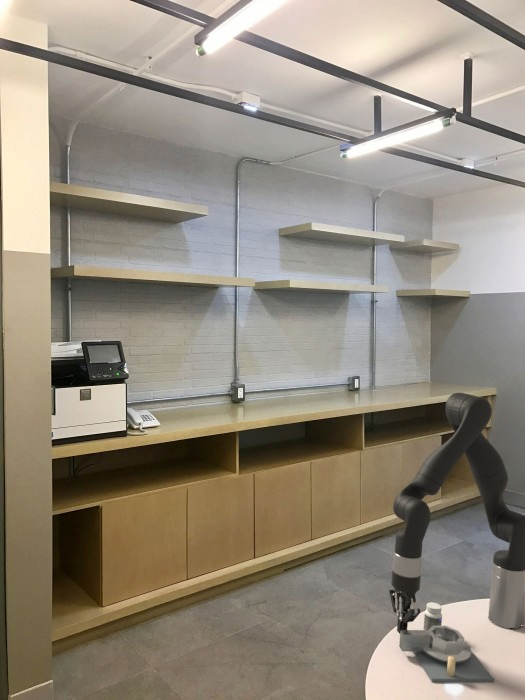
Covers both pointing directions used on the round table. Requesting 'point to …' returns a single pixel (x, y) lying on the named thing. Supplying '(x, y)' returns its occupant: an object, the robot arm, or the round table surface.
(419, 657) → the slate board
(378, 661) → the round table surface
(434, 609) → the pill bottle
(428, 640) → the handled bowl
